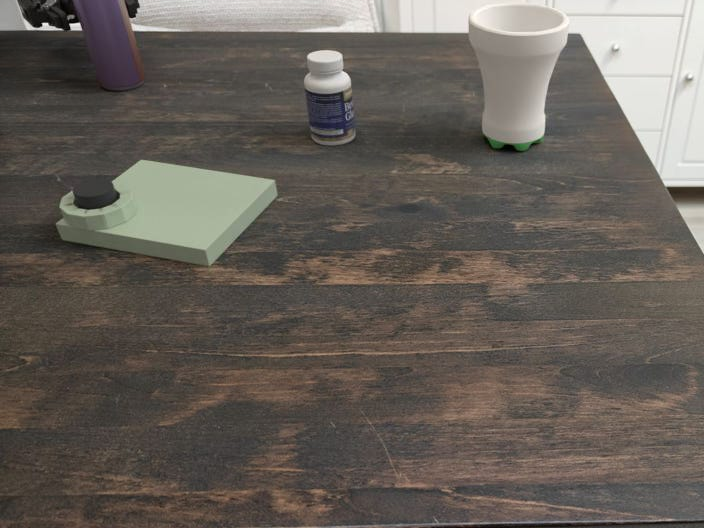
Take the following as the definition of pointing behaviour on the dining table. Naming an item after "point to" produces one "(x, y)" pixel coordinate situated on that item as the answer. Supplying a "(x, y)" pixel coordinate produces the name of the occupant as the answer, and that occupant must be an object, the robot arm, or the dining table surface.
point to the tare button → (95, 194)
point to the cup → (516, 67)
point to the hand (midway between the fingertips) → (99, 16)
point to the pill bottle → (329, 99)
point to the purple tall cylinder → (111, 43)
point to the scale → (170, 212)
